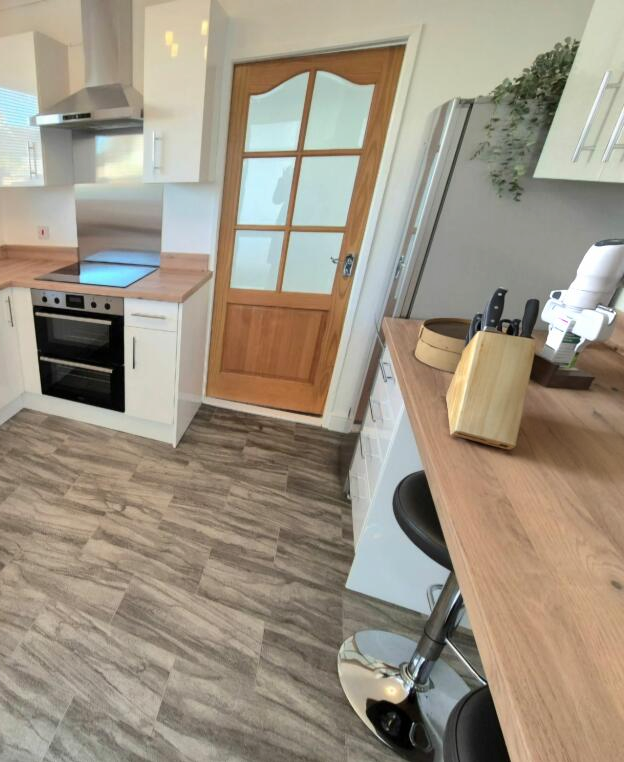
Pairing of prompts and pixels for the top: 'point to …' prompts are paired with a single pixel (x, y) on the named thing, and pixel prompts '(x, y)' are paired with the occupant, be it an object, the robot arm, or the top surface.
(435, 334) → the steamer basket
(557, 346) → the syrup box
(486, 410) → the knife block
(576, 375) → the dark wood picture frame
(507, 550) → the top surface
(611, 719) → the top surface
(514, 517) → the top surface
